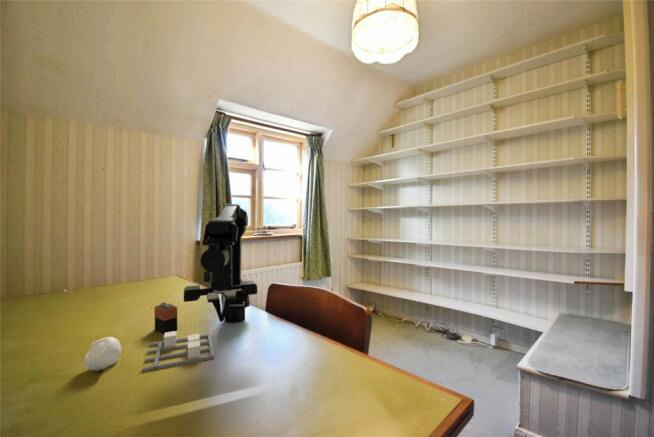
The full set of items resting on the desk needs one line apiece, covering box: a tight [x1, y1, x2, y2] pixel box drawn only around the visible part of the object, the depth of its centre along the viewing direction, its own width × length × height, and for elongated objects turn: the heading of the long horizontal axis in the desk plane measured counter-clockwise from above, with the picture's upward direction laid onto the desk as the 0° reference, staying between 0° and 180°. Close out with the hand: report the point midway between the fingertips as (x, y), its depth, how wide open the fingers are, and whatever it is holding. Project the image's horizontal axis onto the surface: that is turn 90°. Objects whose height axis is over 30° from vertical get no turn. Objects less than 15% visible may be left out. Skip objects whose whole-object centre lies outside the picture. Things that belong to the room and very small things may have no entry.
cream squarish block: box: [163, 331, 177, 348], centre depth 86 cm, size 3×4×4 cm
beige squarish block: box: [187, 333, 201, 343], centre depth 84 cm, size 3×4×4 cm
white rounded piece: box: [83, 336, 122, 372], centre depth 76 cm, size 8×8×8 cm
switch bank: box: [141, 333, 215, 373], centre depth 82 cm, size 18×16×2 cm
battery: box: [154, 302, 178, 335], centre depth 97 cm, size 4×7×10 cm, turn 55°
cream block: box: [187, 340, 201, 359], centre depth 79 cm, size 3×4×4 cm
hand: (221, 321), depth 82 cm, fingers closed
